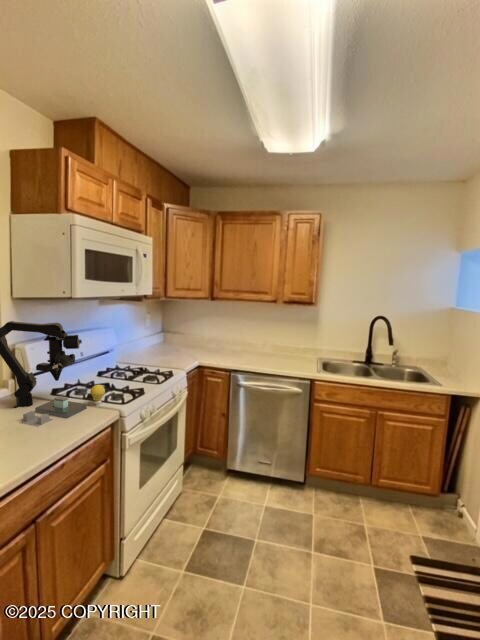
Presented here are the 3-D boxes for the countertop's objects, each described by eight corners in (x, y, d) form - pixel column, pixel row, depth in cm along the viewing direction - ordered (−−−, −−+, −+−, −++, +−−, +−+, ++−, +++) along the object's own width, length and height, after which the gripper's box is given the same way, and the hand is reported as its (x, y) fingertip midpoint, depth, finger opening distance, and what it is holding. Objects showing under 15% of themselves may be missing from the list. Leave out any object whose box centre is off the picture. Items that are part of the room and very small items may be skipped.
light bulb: (100, 407, 172) (99, 387, 170) (87, 406, 173) (87, 386, 172) (107, 402, 178) (107, 383, 177) (96, 401, 179) (95, 382, 178)
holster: (19, 424, 150) (18, 416, 150) (35, 417, 158) (34, 409, 157) (37, 428, 148) (37, 419, 147) (53, 421, 155) (52, 412, 155)
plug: (54, 412, 164) (54, 398, 163) (59, 410, 167) (59, 396, 166) (63, 414, 163) (63, 399, 162) (68, 411, 166) (68, 397, 165)
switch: (35, 413, 162) (35, 407, 161) (56, 404, 173) (55, 398, 173) (67, 420, 157) (67, 413, 156) (86, 410, 168) (86, 403, 167)
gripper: (53, 355, 159) (55, 388, 161) (83, 347, 177) (84, 377, 179) (34, 352, 162) (35, 385, 164) (65, 345, 180) (66, 374, 182)
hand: (56, 380), depth 172 cm, fingers closed
